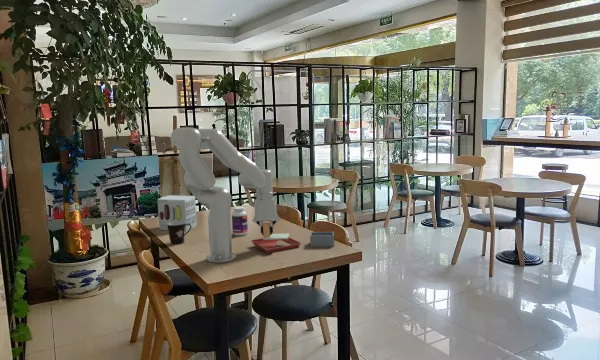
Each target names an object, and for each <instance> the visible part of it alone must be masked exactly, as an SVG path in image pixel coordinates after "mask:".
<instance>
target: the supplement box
mask: <svg viewBox="0 0 600 360" xmlns="http://www.w3.org/2000/svg"><path fill="white" fill-rule="evenodd" d="M196 206H197V204H196V198H195V196H194V195H172V194H171V195H166V196H163V197H160V198H157V211H158V228H159V231H168V226H167V224H168V223H171V222H185V224H190V225H191V230H192V229H194V228H196V227H197V226H198V224H197V207H196ZM190 225H186V226H185V232H188V231H189V229H190Z"/></svg>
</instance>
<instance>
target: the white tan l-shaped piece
mask: <svg viewBox="0 0 600 360" xmlns="http://www.w3.org/2000/svg"><path fill="white" fill-rule="evenodd" d="M263 234H264V235H263V237H262V238H263V240H271V239H288V237H289V238H290V233H272V235H270V221H263Z"/></svg>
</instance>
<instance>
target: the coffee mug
mask: <svg viewBox="0 0 600 360" xmlns="http://www.w3.org/2000/svg"><path fill="white" fill-rule="evenodd" d="M186 225H190V224H185V222H171V223H168V224H167V226H168V230H167V231H168V236H169V240H170V245H173V246H175V245H177V246H178V245H182V244H184V243H185V236H186V235H187V234H189V232H191V230H192V229H191V225H190V229H189V230H188V231H185V226H186Z"/></svg>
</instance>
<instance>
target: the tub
mask: <svg viewBox="0 0 600 360" xmlns="http://www.w3.org/2000/svg"><path fill="white" fill-rule="evenodd" d="M309 236H310V237H309V239H310V241H309V243H310V248H315V247H316V248H320V247H321V248H326V247H329V248H330V247H333V248H335V233H334V231H310V235H309Z"/></svg>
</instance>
